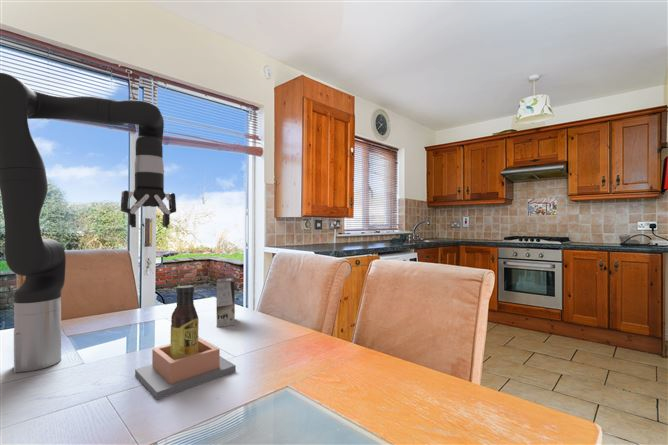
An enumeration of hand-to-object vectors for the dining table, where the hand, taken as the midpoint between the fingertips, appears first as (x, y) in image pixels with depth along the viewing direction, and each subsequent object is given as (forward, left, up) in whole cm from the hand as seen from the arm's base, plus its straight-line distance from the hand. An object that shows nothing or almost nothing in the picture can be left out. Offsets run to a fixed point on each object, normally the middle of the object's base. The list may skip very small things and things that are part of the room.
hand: (149, 227), depth 97 cm
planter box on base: (+1, -24, -36) cm, 43 cm away
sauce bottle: (+1, -24, -35) cm, 42 cm away
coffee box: (+28, +8, -36) cm, 47 cm away
